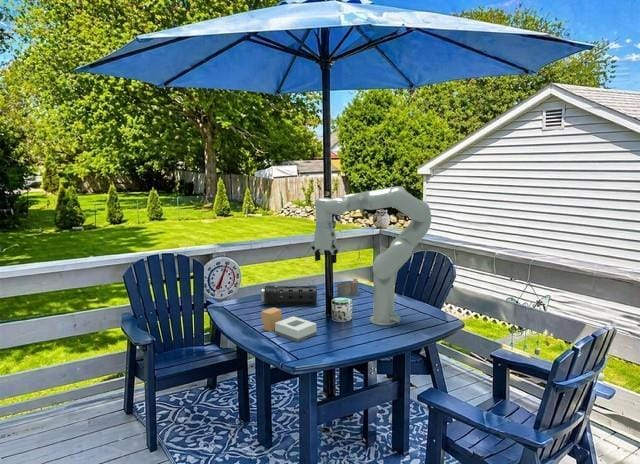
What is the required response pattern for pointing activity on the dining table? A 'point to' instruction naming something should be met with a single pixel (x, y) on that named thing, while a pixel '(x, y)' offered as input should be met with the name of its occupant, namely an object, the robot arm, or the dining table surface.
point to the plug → (271, 318)
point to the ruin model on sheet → (347, 288)
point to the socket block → (295, 329)
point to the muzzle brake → (289, 295)
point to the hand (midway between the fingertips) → (325, 261)
